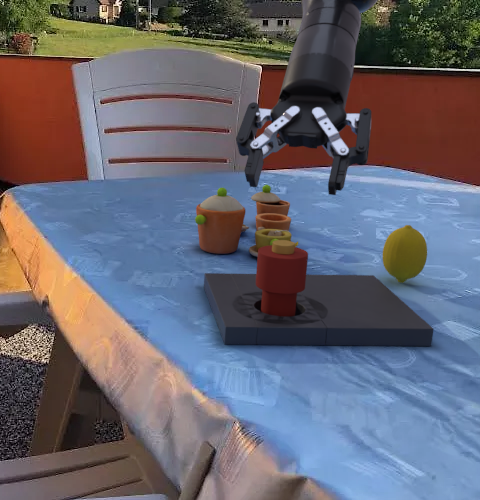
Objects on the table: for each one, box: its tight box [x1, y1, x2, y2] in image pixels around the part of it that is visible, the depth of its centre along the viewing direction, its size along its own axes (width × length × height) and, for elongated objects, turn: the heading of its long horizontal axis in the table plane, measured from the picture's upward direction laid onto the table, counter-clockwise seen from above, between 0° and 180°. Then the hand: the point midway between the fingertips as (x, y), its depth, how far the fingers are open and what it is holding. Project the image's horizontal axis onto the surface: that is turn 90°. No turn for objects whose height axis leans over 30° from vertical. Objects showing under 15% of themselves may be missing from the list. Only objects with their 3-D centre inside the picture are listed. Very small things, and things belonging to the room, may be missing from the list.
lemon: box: [382, 224, 428, 284], centre depth 94 cm, size 6×6×8 cm
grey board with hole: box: [203, 272, 434, 347], centre depth 83 cm, size 22×18×2 cm
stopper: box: [255, 240, 309, 316], centre depth 79 cm, size 5×5×10 cm
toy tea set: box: [194, 184, 299, 258], centre depth 113 cm, size 26×16×10 cm, turn 168°
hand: (291, 186), depth 76 cm, fingers open, 8 cm apart
